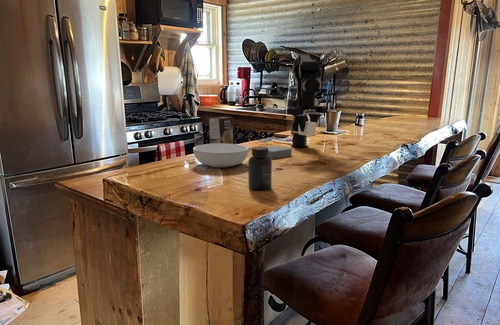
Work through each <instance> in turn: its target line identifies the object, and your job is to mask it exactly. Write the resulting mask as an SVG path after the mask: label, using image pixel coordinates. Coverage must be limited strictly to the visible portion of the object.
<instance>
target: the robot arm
mask: <svg viewBox="0 0 500 325" xmlns="http://www.w3.org/2000/svg"><path fill="white" fill-rule="evenodd" d="M292 74H293V78H294V79H295V81H296V99H294V98H290V99H288V100H287V106H288V107H287V109H286V115H291V116H292V117H293V118H292V122H291V127H290V135H291V136H292V143H291V144H292V145H290V147H293V148H297V149H303V148H308V147H309V146H310V145H308V144H307V136H306V135H300V134H298V127H299V126H300V130H301V132H304V129H305V125H306V122H316V124H318V122H319V119H320V118H321V117H322V116H323V114H328V112H329V108H328V106H326V105H316V99H318V95H317V94H316V93H317V92H318V91H319V90H320V87H321V84H320V82H319V80H318V79H320V78H321V76H322V69H321V66H320V63H318V61H317V60H313V59H312V58H311V54H309V53H300V54H298V55H297V58H296V59H294V60H293V64H292Z"/></svg>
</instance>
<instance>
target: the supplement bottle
mask: <svg viewBox="0 0 500 325" xmlns="http://www.w3.org/2000/svg"><path fill="white" fill-rule="evenodd" d="M268 154H269V153H268V148H267V146H255V147H252V148H251V155H252V156H250V157H249V159H248V160H247V161H248V170H247V172H248V173H247V174H248V180H247V182H248V188H249V190H251V191H254V192H257V191H258V192H264V191H269V190H271V188H272V180H273V178H272V175H273V174H272V171H273V169H272V168H273V164H272V163H273V162H272V161H273V159H271V158H270V157H268Z"/></svg>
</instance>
